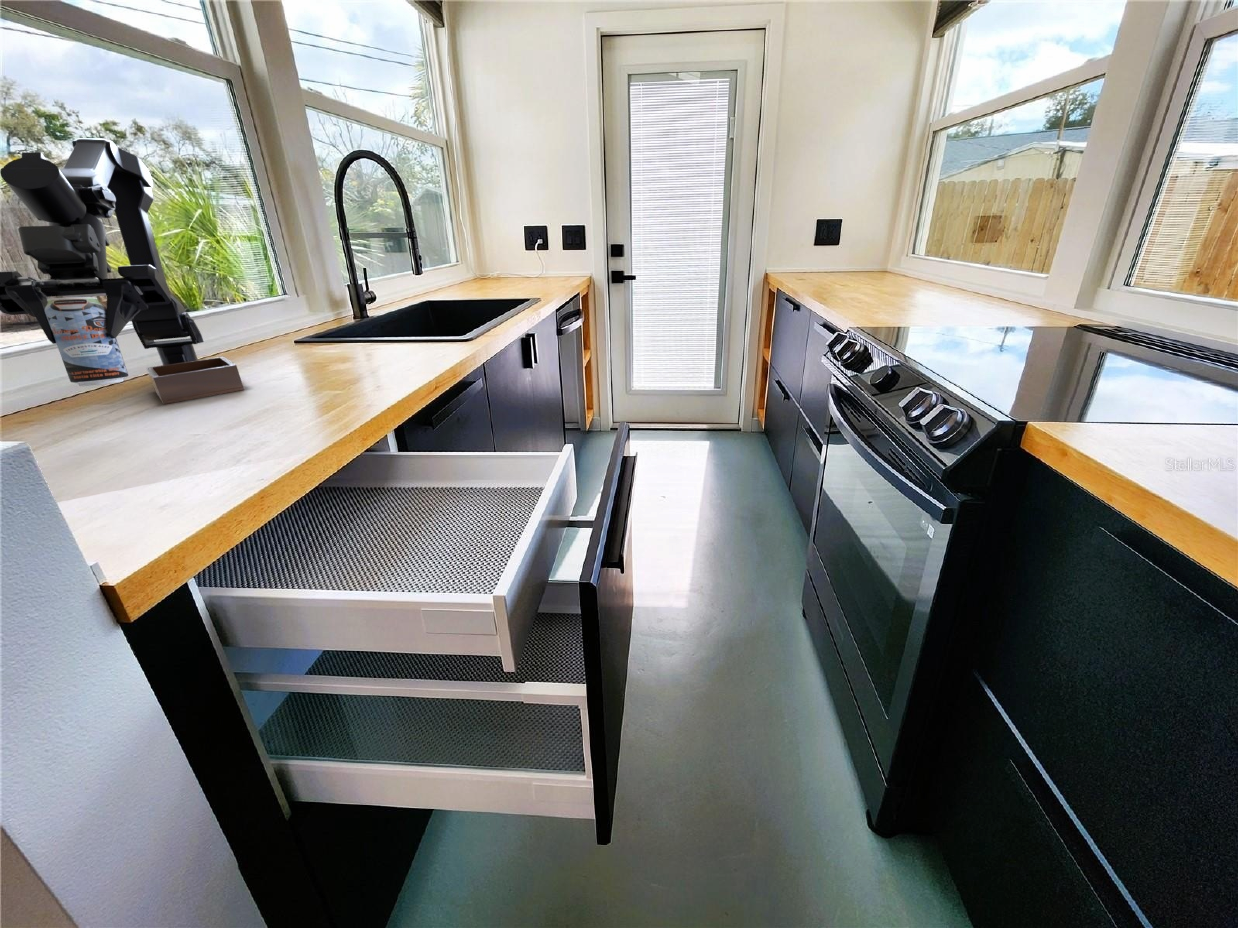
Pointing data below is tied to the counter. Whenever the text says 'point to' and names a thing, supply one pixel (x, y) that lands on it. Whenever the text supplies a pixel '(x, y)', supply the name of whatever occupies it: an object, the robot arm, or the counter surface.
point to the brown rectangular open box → (195, 379)
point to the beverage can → (85, 341)
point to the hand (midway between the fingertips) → (82, 339)
